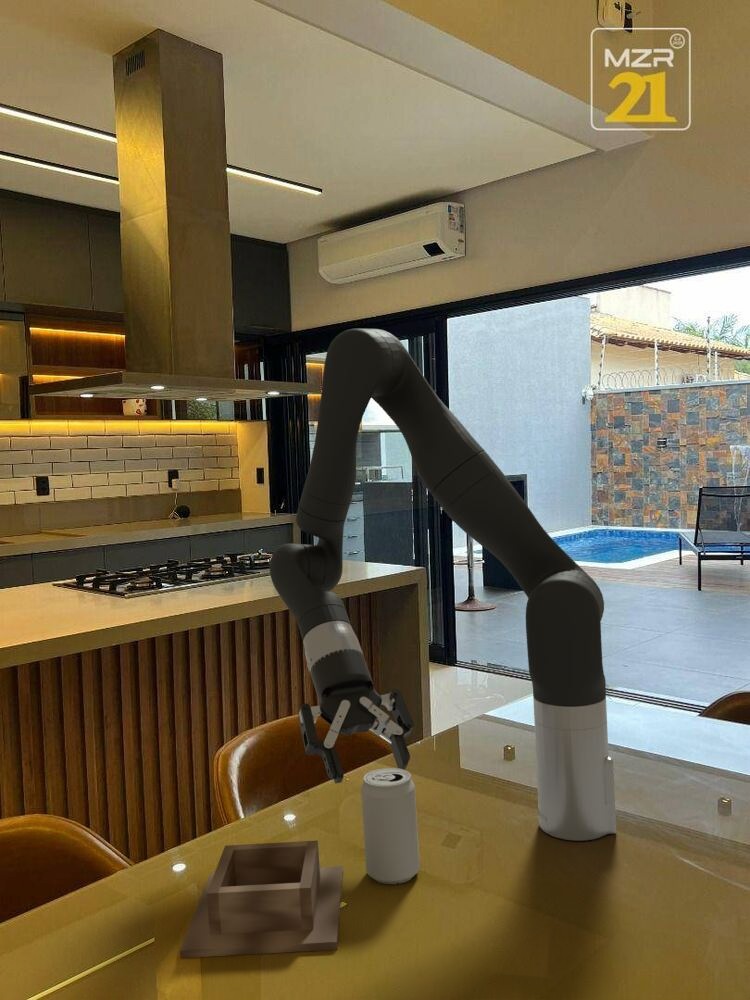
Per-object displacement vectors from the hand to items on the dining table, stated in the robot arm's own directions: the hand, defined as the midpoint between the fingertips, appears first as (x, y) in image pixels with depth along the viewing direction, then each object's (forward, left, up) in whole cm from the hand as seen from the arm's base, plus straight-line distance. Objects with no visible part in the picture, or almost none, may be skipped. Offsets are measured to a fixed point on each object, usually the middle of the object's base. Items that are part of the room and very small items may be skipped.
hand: (372, 773), depth 107 cm
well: (+12, +12, -11) cm, 20 cm away
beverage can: (-2, +5, -11) cm, 12 cm away
